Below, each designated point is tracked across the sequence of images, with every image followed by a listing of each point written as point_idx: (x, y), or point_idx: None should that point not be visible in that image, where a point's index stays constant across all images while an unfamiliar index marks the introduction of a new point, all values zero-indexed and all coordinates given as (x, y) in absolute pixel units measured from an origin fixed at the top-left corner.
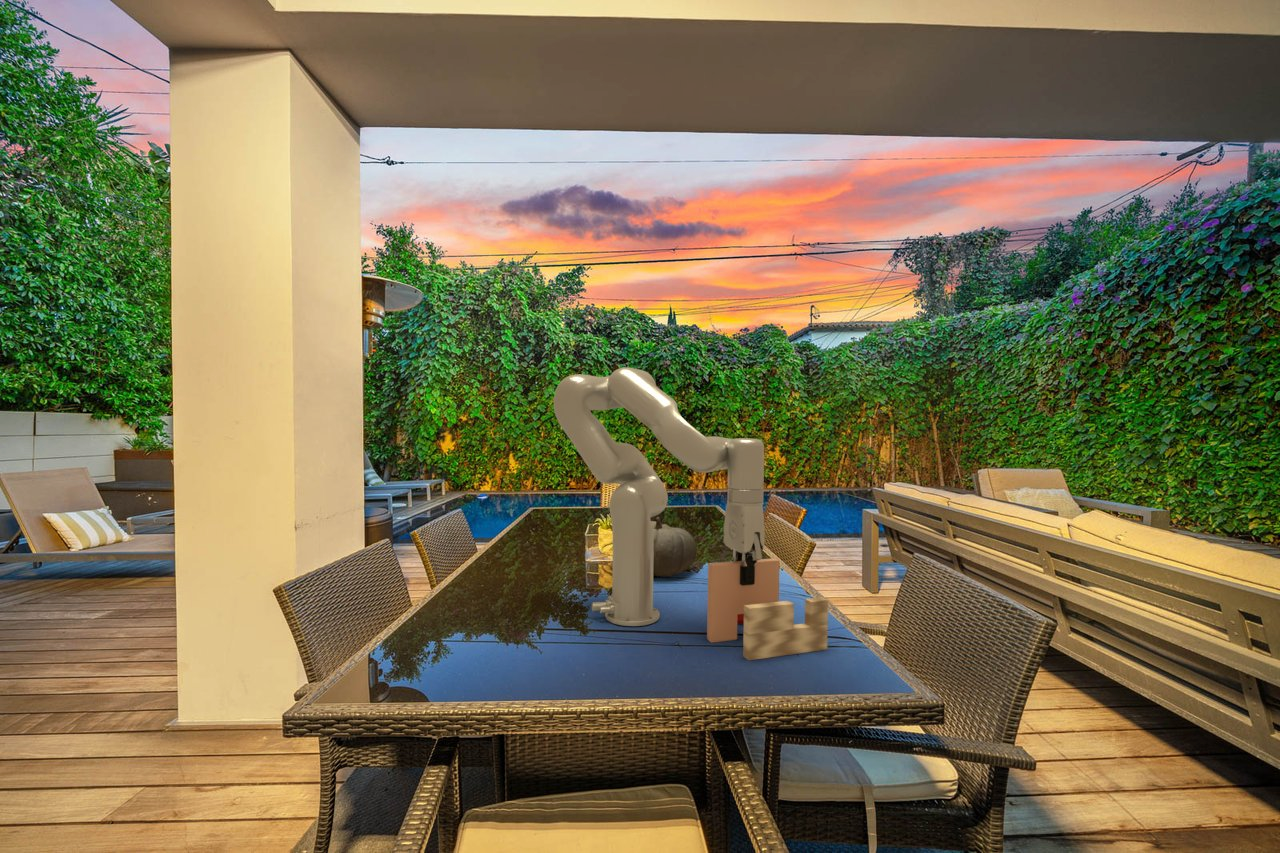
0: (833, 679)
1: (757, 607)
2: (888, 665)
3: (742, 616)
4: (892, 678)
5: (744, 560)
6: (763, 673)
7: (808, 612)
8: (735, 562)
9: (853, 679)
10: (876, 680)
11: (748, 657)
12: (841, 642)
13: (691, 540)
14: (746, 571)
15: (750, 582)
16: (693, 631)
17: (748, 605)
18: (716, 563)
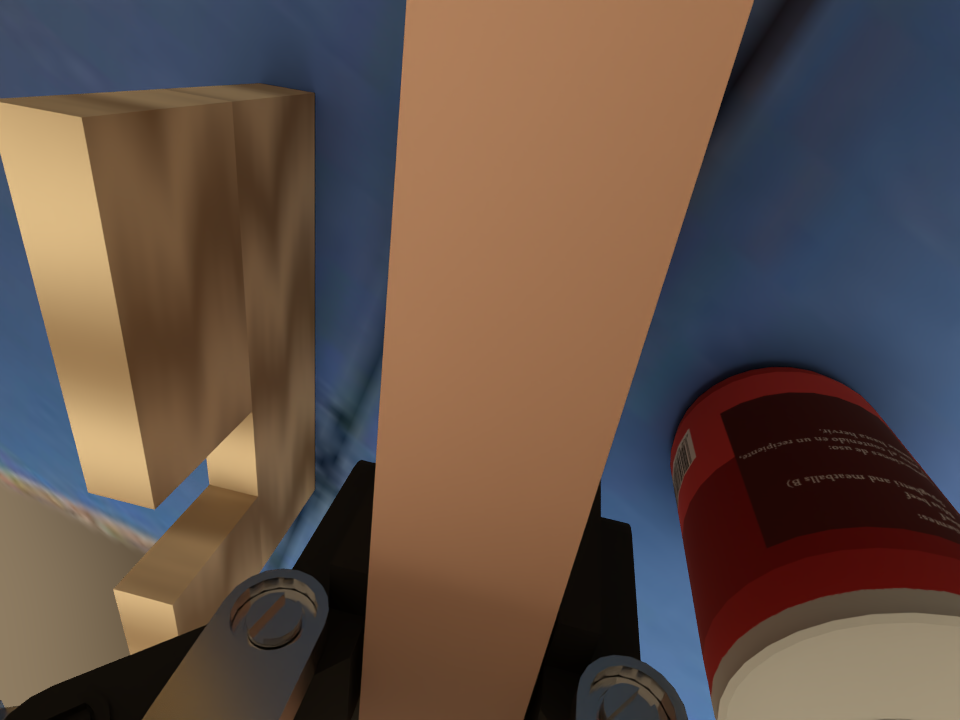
0: (34, 298)
1: (17, 200)
2: (120, 526)
3: (698, 420)
4: (33, 463)
5: (188, 672)
6: (109, 53)
7: (186, 539)
8: (463, 608)
9: (31, 359)
10: (21, 414)
11: (250, 84)
12: None
13: None
14: (310, 544)
15: None
16: (811, 29)
17: (73, 158)
18: (586, 208)
